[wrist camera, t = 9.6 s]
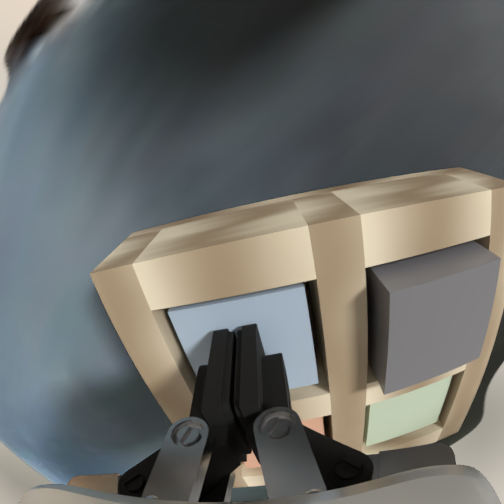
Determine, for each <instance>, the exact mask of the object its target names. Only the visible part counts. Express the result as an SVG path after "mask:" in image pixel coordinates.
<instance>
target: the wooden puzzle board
mask: <svg viewBox="0 0 504 504" xmlns="http://www.w3.org/2000/svg"><path fill="white" fill-rule="evenodd" d="M472 240H474V241H475V242H477V243H478V244H480V245H482V246H483V247H485V248H486V249H488V250H489V251H491V252H492V253H494V254H495V255H497V256H498V257H500V258H501V262H500V269H499V276H498V282H497V288H496V293H495V298H494V303H493V308H492V312H491V317H490V321H489V325H488V329H487V333H486V336H485V340H484V344H483V347H482V350H481V354H480V357H479V358H478V359H476V360H474V361H471V362H469V363H467V364H465V365H463V366H460V367H458V368H456V369H453V370H451V371H449V372H446V373H444V374H441V375H439V376H436V377H434V378H431V379H429V380H426V381H423V382H421V383H418V384H415V385H412V386H410V387H407V388H404V389H401V390H398V391H395V392H392V393H388V394H385V395H384V394H383V392H382V389H381V387H380V385H379V382H378V380H377V378H376V375H375V373H374V371H373V369H372V366H371V364H370V362H369V360H368V321H367V290H366V272H365V268H367V267H372V266H376V265H380V264H384V263H388V262H392V261H396V260H400V259H404V258H408V257H412V256H416V255H420V254H424V253H428V252H431V251H435V250H439V249H443V248H446V247H450V246H454V245H457V244H461V243H465V242H468V241H472ZM90 276H91V278H92V280H93V282H94V285H95V287H96V289H97V292H98V294H99V296H100V298H101V300H102V302H103V305H104V307H105V309H106V311H107V313H108V315H109V317H110V319H111V321H112V323H113V325H114V327H115V329H116V331H117V333H118V335H119V337H120V339H121V340H122V342H123V344H124V346H125V348H126V350H127V352H128V353H129V355H130V357H131V359H132V361H133V362H134V364H135V366H136V367H137V369H138V371H139V373H140V374H141V376H142V378H143V379H144V381H145V383H146V384H147V386H148V387H149V389H150V391H151V392H152V394H153V395H154V397H155V399H156V400H157V402H158V403H159V405H160V406H161V408H162V409H163V411H164V412H165V414H166V415H167V417H168V418H169V420H170V421H171V423H172V424H174V423H175V422H176V421H178V420H180V419H182V418H185V417H189V415H190V410H191V404H192V399H193V394H194V388H195V383H196V378H197V377H196V374H195V372H194V370H193V368H192V366H191V364H190V362H189V360H188V358H187V355H186V353H185V351H184V349H183V347H182V344H181V342H180V340H179V338H178V335H177V333H176V331H175V329H174V326H173V324H172V322H171V319H170V317H169V314H168V310H169V308H170V307H176V306H182V305H187V304H193V303H199V302H204V301H210V300H215V299H221V298H226V297H231V296H237V295H242V294H247V293H252V292H257V291H262V290H267V289H272V288H277V287H282V286H287V285H291V284H296V283H301V282H303V283H304V287H305V293H306V299H307V305H308V311H309V318H310V324H311V331H312V338H313V345H314V352H315V359H316V366H317V374H318V382H319V383H318V384H313V385H308V386H303V387H298V388H293V389H289V392H290V399H291V406H292V410H294V411H295V412H296V413H297V414H298V415H299V417H300V419H301V421H303V420H308V419H313V418H318V417H323V425H324V434H325V436H327V437H329V438H331V439H333V440H335V441H338V442H340V443H342V444H344V445H347V446H349V447H351V448H354V449H356V450H358V451H361V452H363V453H364V454H366V455H370V454H379V451H386V450H394V449H401V448H408V447H414V446H420V445H426V444H431V443H434V442H436V441H439V440H441V439H443V438H445V437H448V436H450V435H452V434H454V433H456V432H458V431H459V429H460V427H461V425H462V423H463V421H464V419H465V417H466V415H467V413H468V410H469V408H470V406H471V404H472V402H473V399H474V397H475V395H476V392H477V390H478V387H479V385H480V382H481V380H482V377H483V374H484V372H485V369H486V366H487V363H488V360H489V357H490V355H491V351H492V348H493V345H494V342H495V339H496V335H497V332H498V328H499V324H500V321H501V317H502V313H503V309H504V180H501V179H498V178H495V177H492V176H488V175H485V174H482V173H478V172H475V171H471V170H467V169H464V168H460V167H456V168H449V169H441V170H434V171H427V172H420V173H414V174H407V175H400V176H394V177H388V178H382V179H376V180H370V181H364V182H358V183H353V184H347V185H342V186H336V187H331V188H326V189H320V190H315V191H310V192H305V193H300V194H295V195H290V196H285V197H280V198H276V199H271V200H266V201H262V202H257V203H252V204H248V205H243V206H239V207H234V208H230V209H226V210H221V211H217V212H213V213H209V214H204V215H200V216H196V217H192V218H188V219H184V220H180V221H176V222H172V223H168V224H164V225H160V226H156V227H152V228H149V229H145V230H141V231H137V232H134V233H132V234H131V235H130V236H129V237H128V238H127V239H125V240H124V241H123V242H122V243H121V244H120V245H119V246H118V247H117V248H116V249H115V250H114V251H113V252H112V253H111V254H110V255H108V256H107V257H106V258H105V259H104V260H103V261H102V262H101V263H100V264H99V265H98V266H97V267H96V268H95V269H94V270H93V271H92V272H91V273H90ZM452 375H453V376H452ZM450 376H452V379H451V382H450V385H449V388H448V392H447V395H446V398H445V400H444V403H443V406H442V409H441V412H440V414H439V417H438V420H437V422H435V423H433V424H430V425H428V426H425V427H423V428H420V429H418V430H415V431H412V432H409V433H407V434H404V435H401V436H398V437H395V438H392V439H389V440H386V441H383V442H380V443H376V444H373V445H370V446H366V445H365V442H364V438H363V434H364V423H365V409H366V406H367V405H370V404H374V403H377V402H381V401H384V400H387V399H390V398H393V397H396V396H399V395H402V394H405V393H408V392H411V391H414V390H417V389H419V388H422V387H425V386H427V385H430V384H432V383H435V382H437V381H440V380H442V379H445V378H447V377H450ZM235 471H236V476H235V481H234V486H233V488H234V487H251V486H263V485H265V482H264V477H263V473H262V468H261V467H256V468H246V466H245V464H244V463H243V462H241V465H240V466H239V467H238V468H237V469H235Z"/></svg>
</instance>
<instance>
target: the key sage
mask: <svg viewBox="0 0 504 504" xmlns="http://www.w3.org/2000/svg"><path fill="white" fill-rule="evenodd" d="M452 376H453V375H452ZM452 376H450V377H447V378H445V379H442V380H440V381H437V382H435V383H432V384H430V385H427V386H425V387H422V388H419V389H417V390H414V391H411V392H408V393H405V394H402V395H399V396H396V397H393V398H390V399H387V400H384V401H381V402H377V403H374V404H370V405H367V406H366V409H365V423H364V434H363V438H364V442H365V445H366V446H370V445H373V444H376V443H380V442H383V441H386V440H389V439H392V438H395V437H398V436H401V435H404V434H407V433H409V432H412V431H415V430H418V429H420V428H423V427H425V426H428V425H430V424H433V423H435V422H437V420H438V417H439V414H440V412H441V409H442V406H443V403H444V400H445V398H446V395H447V392H448V388H449V385H450V382H451V379H452Z"/></svg>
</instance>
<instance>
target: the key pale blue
mask: <svg viewBox="0 0 504 504" xmlns="http://www.w3.org/2000/svg"><path fill="white" fill-rule="evenodd" d="M168 314H169V317H170V319H171V322H172V324H173V326H174V329H175V331H176V333H177V335H178V338H179V340H180V342H181V344H182V347H183V349H184V351H185V353H186V355H187V358H188V360H189V362H190V364H191V366H192V368H193V370H194V372H195V374H196V377H197V372H198V368H199V366H201V365H208V360H209V354H210V348H211V342H212V336H213V331H215V330H221V329H229V332H232V331H234V332H235V335H236V338H237V331H238V330H242V326H244V325H250V324H255V323H256V324H257V326H258V330H259V334H260V337H261V341H262V345H263V348H264V352H265V356H266V355H272V354H277V353H282V355H283V359H284V364H285V368H286V373H287V379H288V385H289V389H293V388H298V387H303V386H308V385H313V384H318V383H319V382H318V374H317V366H316V359H315V352H314V345H313V338H312V331H311V324H310V318H309V311H308V305H307V299H306V293H305V287H304V283H303V282H301V283H296V284H291V285H287V286H282V287H277V288H272V289H267V290H262V291H257V292H252V293H247V294H242V295H237V296H231V297H226V298H221V299H215V300H210V301H204V302H199V303H193V304H187V305H182V306H176V307H170V308H169V310H168Z"/></svg>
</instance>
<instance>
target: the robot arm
mask: <svg viewBox="0 0 504 504" xmlns="http://www.w3.org/2000/svg"><path fill="white" fill-rule="evenodd" d="M252 451H253V453H254V455H255V457H256V459H257V461H258V463H259V464H261V468H262V473H263V477H264V482H265V486H266V490H267V494H268V499H269V500H257V501H242V502H230V499H231V495H232V490H233V486H234V481H235V476H236V471H235V469H237V468H238V467H239V466H240V465H241V462H247V454H251V453H252ZM18 504H501V502H500V500H499V498H498V496H497V494H496V492H495V490H494V489H493V487H492V486H491V484H490V482H489V481H488V480H487V478H486V477H485V476H484V475H483V474H482V473H481V472H480V471H478V470H477V469H475V468H473V467H470V466H465V465H456V462H455V455H454V452H453V450H452V449H451V447H449V446H448V445H447V444H444V443H431V444H426V445H420V446H414V447H408V448H401V449H394V450H386V451H379V454H370V455H366V454H364V453H363V452H361V451H358V450H356V449H354V448H351V447H349V446H347V445H344V444H342V443H340V442H338V441H335V440H333V439H331V438H329V437H327V436H325V435H323V434H321V433H318V432H316V431H314V430H312V429H310V428H308V427H306V426H304V425H302V422H301V419H300V417H299V415H298V414H297V413H296V412H295V411H294V410H292V406H291V399H290V392H289V385H288V379H287V373H286V368H285V364H284V359H283V355H282V353H277V354H272V355H266V356H265V352H264V348H263V345H262V341H261V337H260V334H259V330H258V326H257V324H256V323H255V324H250V325H244V326H242V330H238V331H237V338H236V335H235V332H234V331H232V332H229V329H221V330H215V331H213V336H212V342H211V348H210V354H209V360H208V365H201V366H199V368H198V372H197V378H196V383H195V388H194V394H193V399H192V404H191V410H190V415H189V417H185V418H182V419H180V420H178V421H176V422H175V423H174V424H173V425H171V426H170V428H169V430H168V432H167V434H166V437H165V439H164V442H163V444H162V447H161V448H160V449H159V450H158V451H156V452H155V453H153V454H152V455H150V456H149V457H147V458H146V459H145V460H143V461H142V462H140V463H139V464H137V465H136V466H134V467H133V468H131V469H129V470H128V471H127V472H125V473H124V474H123V475H119V474H118V473H116V474H102V475H80V476H75V477H73V478H72V479H71V480H70V481H69V482H68V484H67V485H64V484H48V485H40V486H36V487H33V488H31V489H29V490H27V491H26V492H25V493H24V495H23V496H22V497H21V499H20V501H19V503H18Z"/></svg>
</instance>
